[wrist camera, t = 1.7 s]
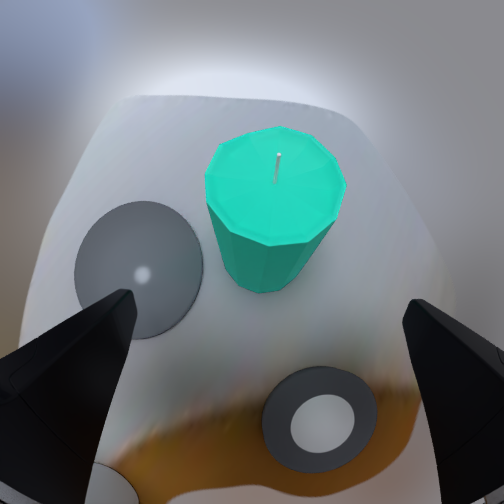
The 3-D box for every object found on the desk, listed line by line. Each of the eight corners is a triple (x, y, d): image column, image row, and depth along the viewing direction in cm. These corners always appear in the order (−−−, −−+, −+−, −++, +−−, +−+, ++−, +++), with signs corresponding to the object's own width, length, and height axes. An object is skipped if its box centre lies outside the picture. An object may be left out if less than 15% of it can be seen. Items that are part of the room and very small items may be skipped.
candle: (304, 222, 22) (350, 113, 11) (299, 297, 20) (361, 240, 9) (229, 213, 22) (214, 97, 11) (217, 288, 20) (180, 219, 9)
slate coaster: (215, 326, 19) (214, 325, 19) (85, 346, 19) (80, 346, 18) (191, 192, 23) (190, 187, 22) (78, 222, 22) (74, 219, 21)
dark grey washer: (372, 442, 16) (383, 449, 14) (274, 473, 16) (276, 485, 14) (355, 352, 19) (366, 353, 17) (250, 382, 18) (250, 386, 16)
